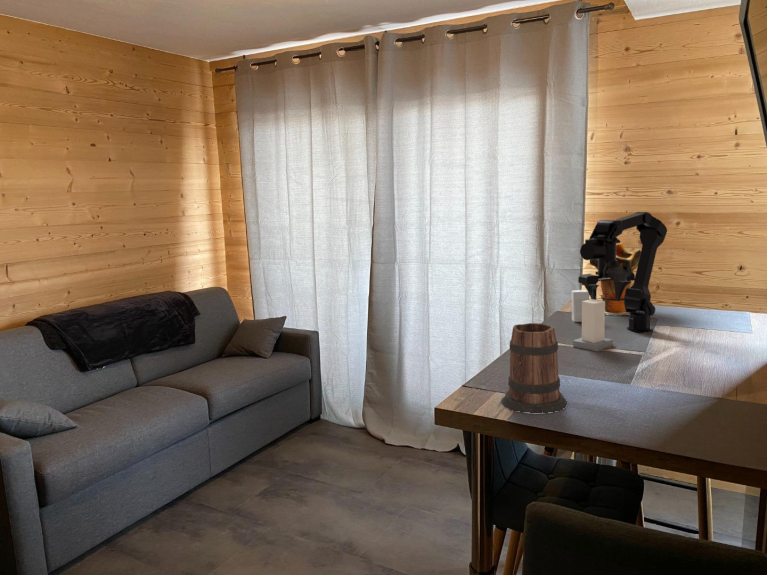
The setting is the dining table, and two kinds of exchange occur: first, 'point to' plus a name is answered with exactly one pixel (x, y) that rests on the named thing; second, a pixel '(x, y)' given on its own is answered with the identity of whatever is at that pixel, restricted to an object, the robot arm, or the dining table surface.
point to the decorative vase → (608, 285)
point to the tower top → (593, 344)
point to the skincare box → (578, 303)
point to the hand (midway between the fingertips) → (606, 302)
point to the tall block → (593, 320)
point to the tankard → (534, 370)
